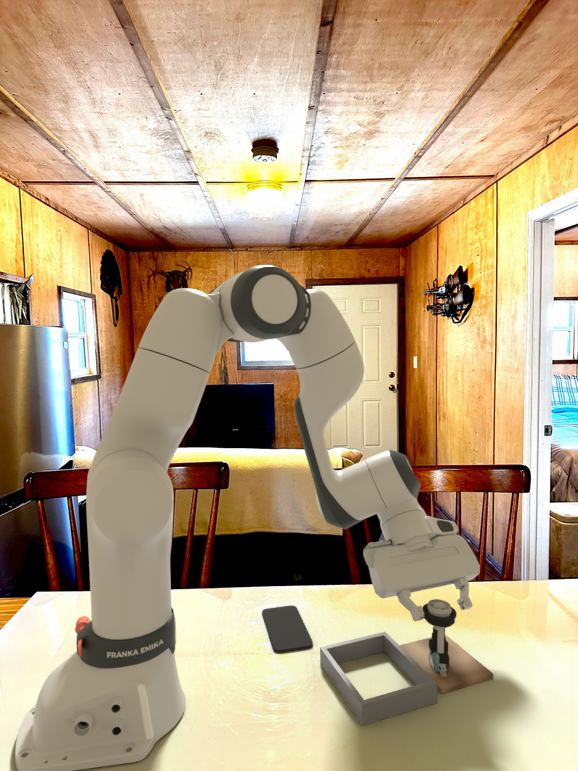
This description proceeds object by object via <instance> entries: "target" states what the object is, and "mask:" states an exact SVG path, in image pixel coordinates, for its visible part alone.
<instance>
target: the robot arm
mask: <svg viewBox="0 0 578 771" xmlns="http://www.w3.org/2000/svg"><path fill="white" fill-rule="evenodd" d="M273 339H274V340H275V339H276V340H278V341H279V342H280V343H281V344H282V345H283V346H284V347H285V349H286V350H287V351H288V353H289V357H290V358H291V361H292V363H293V365H294V367H295V370H296V371H297V372H296V373H298V377H299V387H300V388H299V394H298V395H297V396H296V398H295V399H294V402H293V403H294V416H295V421H296V423H297V428H298V431H299V434H300V439H301V442H302V446H303V449H304V452H305V456H306V461H307V464H308V466H309V470H310V474H311V477H312V481H313V484H314V490H315V497H316V503H317V507H318V510H319V513H320V514H321V516H322V518H323V519H324V520H325V522H326V523H327V524H329V525H331V526H332V527H336V528H339V529H343V530H348V529H349V528H351V527H353V526H354V525H356V524H358V523H361V522H362V521H363V520H366V519H367V518H370V517H372V516H374V515H377V517H378V520H379V522H380V523H379V525H380V530H381V532H382V534H383V537H384V540H380V541H376V542H375V541H373V542H368V543H367V545H365V547H363V552H362V554H363V558H364V561H365V564H366V566H368V570H369V575H370V579H371V583H372V586H373V590H374V593H375V594H376V595H377V596H378V597H379V598H380V599H387V598H388V599H389V598H391V597H397V600H398V602H399V604H401V605H402V606H403V607H404V608H405V609H406V610H407V611H409V613H410V616H411V618H412V621H414V622H418V621H422V620H423V619H424V618H425V613H424V612H423V606H422V605H419V606H417V604H416V603H415V602H414V601H413V600H412V599H411V596H412V594H411V593H416V592H421V591H426V590H430V589H436V588H440V587H445V586H448V585H449V586H450V585H454V586H455V589H456V590H459V598H458V599H456V602H457V605H458V606H459V609H460V610H461V611H465V610H469V609H471V608H472V607H473V603H472V600H471V598H470V596H469V595H470V584H469V582H470V581H472V580H473V579H475V578H476V577H477V576H478V575H480V572H481V570H480V569H481V565H480V564H479V561H478V559H477V557H476V555H475V553H474V552H473V550H472V549H471V547H470V545H469V544H468V542H467V541H466V539H465V538H464V537H463V536H461V535H460V534H457V533H458V532H459V527H458V526H457V524H456V522H455V521H451V520H446V519H441V518H436V517H432V516H429V515H427V513H426V512H425V510H424V509H423V508H422V506H421V505H420V504H419V502H418V496H419V492H420V490H421V486H422V484H421V482H420V480H419V479H418V477H417V476H416V474H415V473H414V471H413V468H412V465H411V462H410V460H409V457H408V456H407V455H405V454H403V453H401V452H399V451H397V450H392V449H389V450H385V451H381V452H379V453H377V454H374V455H371V456H370V457H367V458H365V459H363V460H360V461H358V462H356V463H354V464H352V465H349V466H347V467H345V468H342V469H339V470H337V469H334V468H333V465H332V461H331V459H330V458H331V457H330V455H329V452H328V448H327V444H326V440H325V435H324V434H325V430H326V428H327V426H328V424H329V422H331V420H332V419H333V417H334V416H336V414H337V413H339V411H340V410H342V408H343V407H345V405H347V404H348V402H350V400H352V398H353V397H354V396H355V394H356V393H357V392H358V390H359V388H360V386H361V384H362V382H363V379H364V374H365V365H364V361H363V357H362V354H361V352H360V349H359V346H358V344H357V342H356V340H355V337H354V335H353V333H352V330H351V329H350V327H349V325H348V323H347V321H346V320H345V318H344V316H343V314H342V313H341V311H340V310H339V309H338V307H337V305H336V303H335V302H334V301H333V300H332V297H330V296H329V294H328V293H326V292H325V291H323V290H320V289H314V288H311V289H310V288H309V289H306V288H305V287H304V286H302V285H301V284H300V283H299V281H298V280H297V279H296V278H295V277H294V276H293V275H292V274H290V273H289V271H286V270H285V269H283V268H282V267H278V266H275V265H272V264H271V265H269V264H263V265H255V266H252V267H249V268H247V269H246V270H244V271H240V272H237V273H234V274H233V275H231V276H230V277H228V278H227V279H226V280H224V282H221V283H220V284H219V285H217V286H216V287H214V288H213V289H212V290H210V292H208V293H205V292H203V291H201V290H198V289H194V288H188V287H187V288H186V287H184V288H176V289H173V290H170V292H169V291H168V293H167V294H166V295H164V297H163V298H162V300H161V302H160V303H159V305H158V306H157V308H156V310H155V311H154V313H153V314H152V317H151V318H150V321H149V322H148V325H147V326H146V329H145V331H144V333H143V335H142V337H141V340H140V342H139V344H138V347H137V349H136V352H135V354H134V358H133V360H132V362H131V365H130V367H129V371H128V373H127V376H126V378H125V381H124V384H123V387H122V388H121V391H120V394H119V397H118V399H117V402H116V405H115V406H114V409H113V412H112V413H111V416H110V418H109V420H108V423H107V424H106V428H105V430H104V432H103V435H102V436H101V439H100V442H99V443H98V447H97V449H96V451H95V453H94V454H95V455H94V456H93V459H92V461H91V464H90V467H89V468H88V473H87V477H86V478H87V480H86V496H85V498H86V499H85V502H86V503H85V504H86V505H85V508H86V525H87V526H86V527H87V543H88V544H87V546H88V547H87V548H88V563H89V564H88V567H89V583H90V584H89V586H90V587H89V590H90V609H91V610H90V611H91V613H90V614H91V618H89V617H88V616H87V615H82V616H80V617H78V618H77V620H76V621H75V628H74V632H75V634H76V644H75V645H76V651H75V652H74V653H72V654H71V655H70V656H69V657H67V659H65V660H64V661H63V662H62V663H60V664H59V665H58V666H57V667H56V668H54V669H53V670H52V671H51V672H50V674H49V675H48V676H47V677H46V679H45V681H44V683H43V684H42V686H41V688H40V691H39V694H38V697H37V699H36V702H35V704H34V705H33V706H32V707H31V708H30V710H28V712H27V714H26V715H25V716H24V718H23V721H22V723H21V724H20V727H19V729H18V733H17V736H16V740H15V741H16V742H15V748H14V762H15V764H14V765H15V767H16V770H17V771H79V770H87V769H94V768H101V767H109V766H114V765H115V766H116V765H122V764H123V765H124V764H130V763H136V762H141V761H142V760H144V759H145V758H146V757H147V756H148V755H149V754H150V753H151V751H152V749H153V748H154V746H155V745H156V743H157V742H158V741H159V740H160V739H161V738H162V737H164V736H165V735H166V734H167V733H169V732H170V731H171V730H172V729H173V728H175V726H176V725H177V724H178V723H179V720H180V719H181V718H182V717H183V714H184V711H185V709H186V704H187V703H186V696H185V693H184V691H183V690H184V689H183V688H182V685H181V681H180V678H179V673H178V667H177V662H176V656H175V651H176V644H177V625H176V617H175V613H174V608H173V607H172V592H171V590H172V589H171V586H172V585H171V550H172V541H173V540H172V539H173V526H174V523H173V522H174V485H173V482H172V480H171V476H170V475H169V474H168V470H169V466H170V464H171V462H172V460H173V459H174V456H175V455H176V454H175V453H176V452H177V449H178V448H179V446H180V444H181V443H182V440H183V438H184V437H185V435H186V433H187V431H188V430H189V428H191V426H192V425H193V422H194V419H195V417H196V414H197V411H198V408H199V405H200V403H201V400H202V397H203V395H204V392H205V389H206V386H207V384H208V380H209V378H210V375H211V373H212V369H213V367H214V363H215V359H216V356H217V355H218V353H219V351H220V350H221V348H222V347H223V345H225V342H231V343H232V342H233V343H242V342H246V343H258V342H264V341H267V340H273Z"/></svg>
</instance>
